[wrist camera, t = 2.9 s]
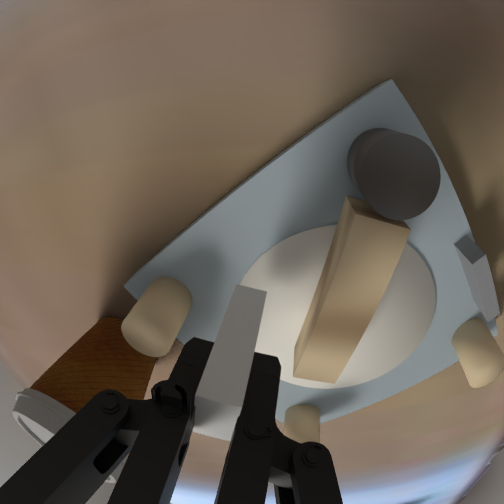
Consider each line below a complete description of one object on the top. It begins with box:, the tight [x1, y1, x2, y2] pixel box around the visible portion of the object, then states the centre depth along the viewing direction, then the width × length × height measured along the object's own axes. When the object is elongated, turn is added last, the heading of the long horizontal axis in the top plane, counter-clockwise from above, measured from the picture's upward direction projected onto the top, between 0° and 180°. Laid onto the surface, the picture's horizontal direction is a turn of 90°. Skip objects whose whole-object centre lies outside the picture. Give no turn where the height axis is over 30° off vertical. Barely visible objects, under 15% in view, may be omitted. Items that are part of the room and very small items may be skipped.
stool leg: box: [293, 128, 441, 384], centre depth 14 cm, size 14×3×3 cm, turn 170°
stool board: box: [121, 79, 504, 444], centre depth 17 cm, size 20×20×6 cm
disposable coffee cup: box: [12, 317, 157, 483], centre depth 19 cm, size 10×10×12 cm
